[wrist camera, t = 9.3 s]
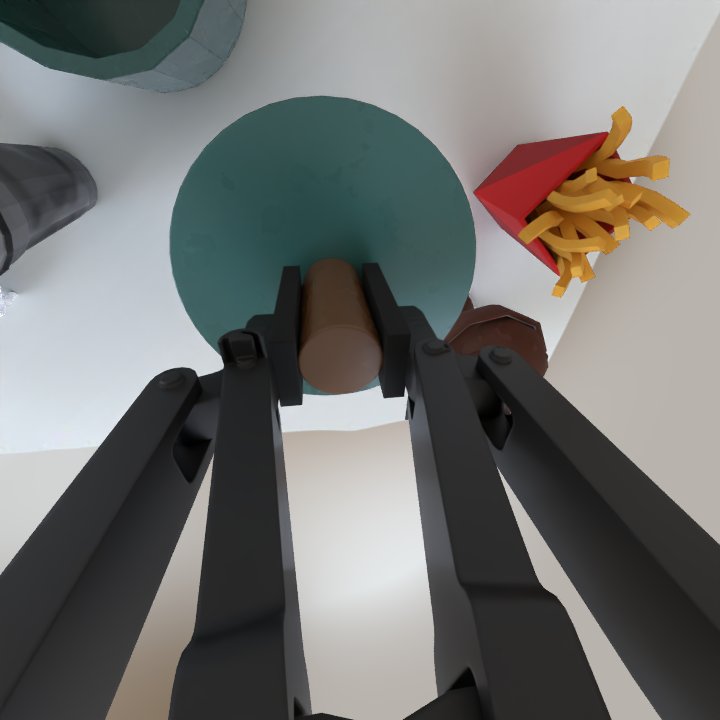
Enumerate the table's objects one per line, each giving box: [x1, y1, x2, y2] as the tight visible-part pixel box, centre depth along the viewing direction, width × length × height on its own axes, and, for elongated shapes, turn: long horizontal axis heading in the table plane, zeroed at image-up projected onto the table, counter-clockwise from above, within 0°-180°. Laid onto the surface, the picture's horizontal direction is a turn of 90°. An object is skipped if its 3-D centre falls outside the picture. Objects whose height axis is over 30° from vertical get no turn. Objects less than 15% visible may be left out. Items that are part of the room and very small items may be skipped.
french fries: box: [473, 106, 690, 298], centre depth 23 cm, size 9×8×15 cm
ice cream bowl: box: [444, 297, 548, 412], centre depth 31 cm, size 11×11×15 cm
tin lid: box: [170, 96, 476, 395], centre depth 14 cm, size 15×15×8 cm
